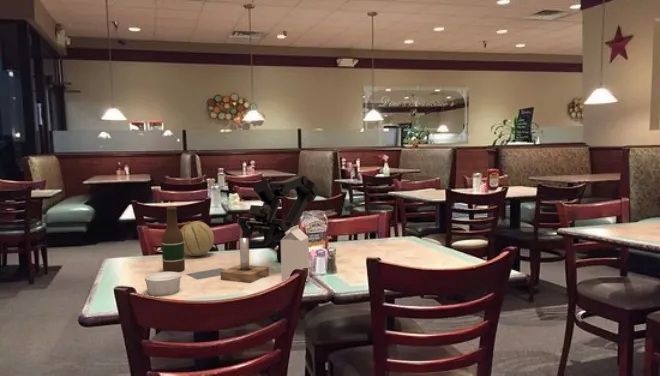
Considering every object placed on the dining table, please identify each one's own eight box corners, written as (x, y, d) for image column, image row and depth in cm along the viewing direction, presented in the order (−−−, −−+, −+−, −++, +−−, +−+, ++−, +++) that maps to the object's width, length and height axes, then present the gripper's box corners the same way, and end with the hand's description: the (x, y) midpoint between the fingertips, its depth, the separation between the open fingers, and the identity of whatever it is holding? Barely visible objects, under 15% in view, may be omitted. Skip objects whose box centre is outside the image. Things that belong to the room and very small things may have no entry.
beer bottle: (189, 270, 200) (186, 206, 198) (175, 274, 193) (172, 208, 191) (173, 268, 204) (170, 205, 202) (158, 272, 197) (155, 207, 195)
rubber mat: (221, 268, 202) (221, 268, 202) (233, 273, 194) (233, 272, 194) (185, 274, 193) (185, 274, 193) (197, 280, 185) (197, 279, 185)
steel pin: (247, 276, 189) (246, 237, 188) (250, 278, 187) (249, 238, 186) (239, 277, 188) (238, 238, 187) (242, 279, 185) (241, 239, 184)
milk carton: (309, 280, 182) (308, 225, 181) (301, 286, 175) (300, 228, 174) (290, 279, 184) (288, 224, 183) (281, 284, 178) (280, 227, 176)
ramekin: (161, 298, 164) (161, 281, 164) (137, 293, 170) (136, 277, 170) (189, 290, 174) (188, 273, 173) (165, 285, 180) (164, 270, 179)
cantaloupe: (221, 255, 226) (220, 219, 225) (191, 261, 215) (190, 224, 214) (200, 250, 236) (199, 216, 235) (171, 256, 225) (169, 221, 224)
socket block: (240, 272, 195) (240, 264, 195) (269, 275, 190) (268, 267, 190) (220, 280, 185) (220, 271, 184) (250, 283, 179) (250, 275, 179)
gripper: (238, 195, 199) (221, 230, 190) (282, 197, 191) (267, 233, 182) (251, 213, 207) (235, 247, 198) (293, 215, 199) (279, 251, 190)
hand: (253, 244), depth 192 cm, fingers open, 9 cm apart
